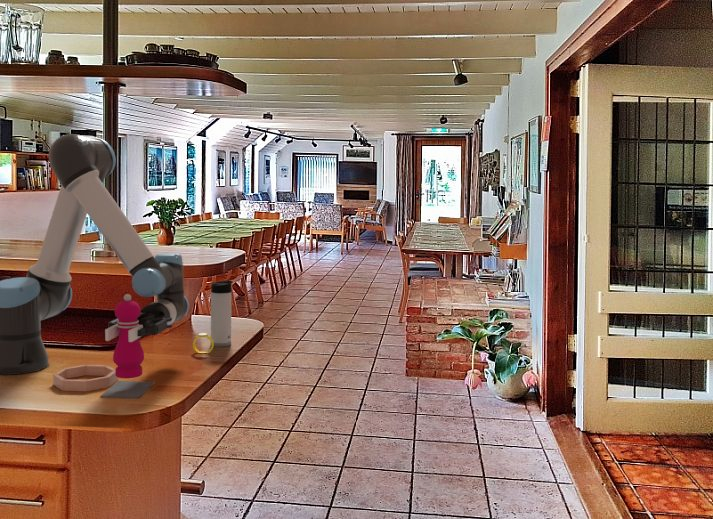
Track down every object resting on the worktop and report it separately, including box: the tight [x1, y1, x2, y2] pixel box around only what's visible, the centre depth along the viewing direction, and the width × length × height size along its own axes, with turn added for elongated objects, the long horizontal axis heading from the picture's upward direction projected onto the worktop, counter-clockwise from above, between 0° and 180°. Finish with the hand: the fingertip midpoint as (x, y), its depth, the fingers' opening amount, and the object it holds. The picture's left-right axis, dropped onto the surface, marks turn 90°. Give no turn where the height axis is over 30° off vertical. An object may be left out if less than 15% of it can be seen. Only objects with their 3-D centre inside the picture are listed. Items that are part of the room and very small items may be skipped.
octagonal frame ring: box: [52, 364, 119, 392], centre depth 177 cm, size 14×14×2 cm
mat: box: [100, 380, 155, 400], centre depth 172 cm, size 9×12×1 cm
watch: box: [192, 332, 215, 355], centre depth 208 cm, size 6×3×6 cm, turn 88°
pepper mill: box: [112, 293, 145, 379], centre depth 170 cm, size 7×7×20 cm
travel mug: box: [210, 280, 234, 348], centre depth 218 cm, size 6×7×20 cm
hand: (118, 335), depth 165 cm, fingers closed on pepper mill, 5 cm apart
